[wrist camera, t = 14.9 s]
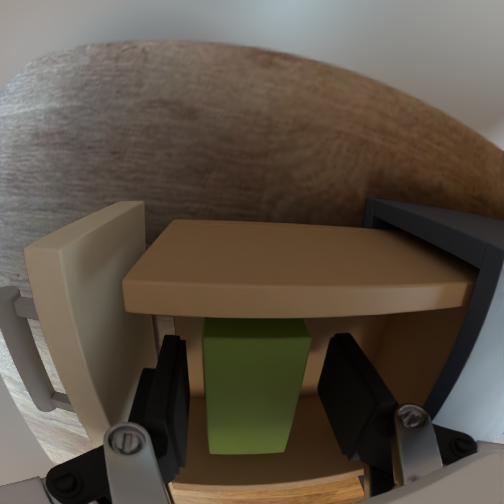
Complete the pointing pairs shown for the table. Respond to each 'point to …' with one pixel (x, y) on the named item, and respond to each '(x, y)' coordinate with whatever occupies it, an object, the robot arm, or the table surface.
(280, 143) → the table surface
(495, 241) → the cabinet
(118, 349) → the drawer
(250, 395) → the olive green block
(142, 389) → the robot arm
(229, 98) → the table surface
